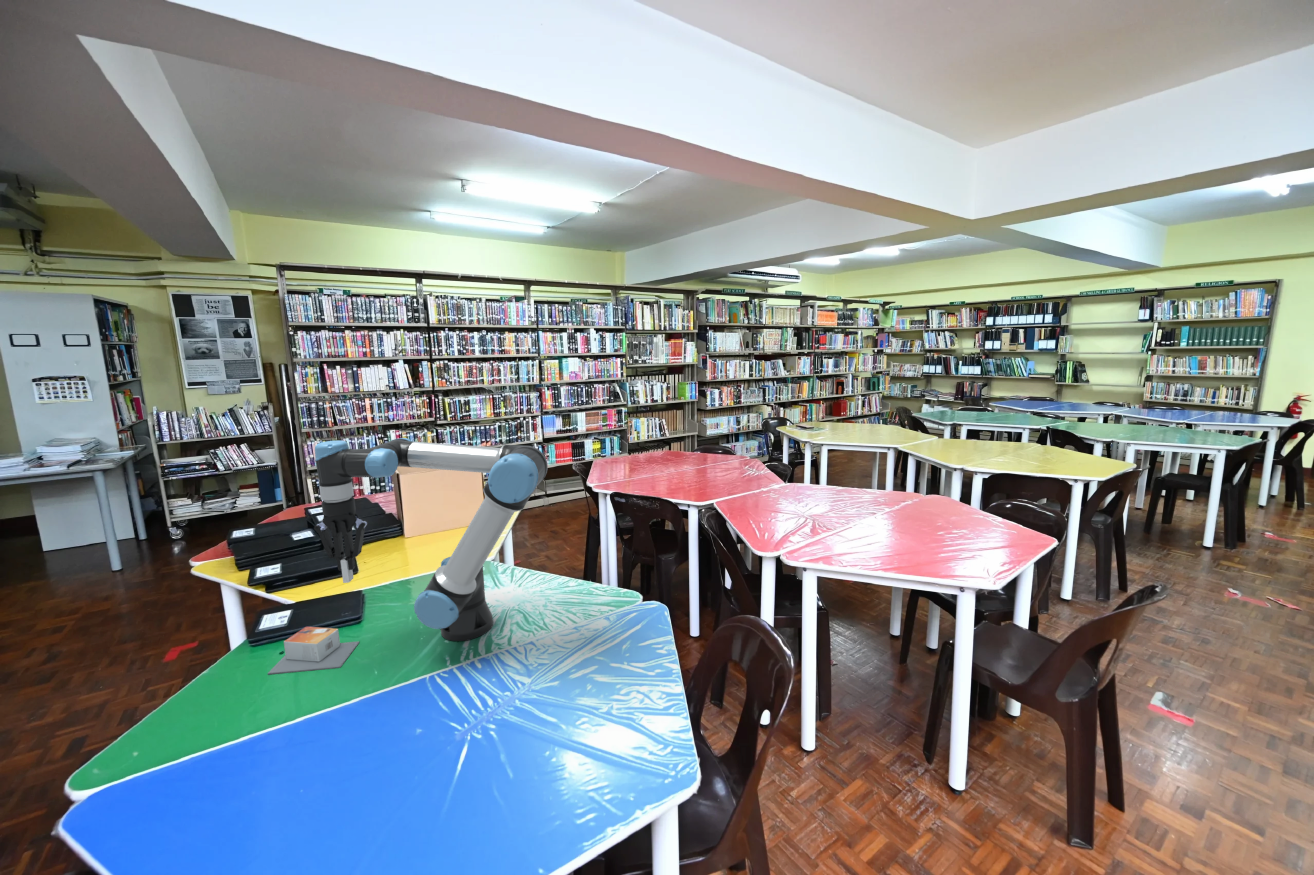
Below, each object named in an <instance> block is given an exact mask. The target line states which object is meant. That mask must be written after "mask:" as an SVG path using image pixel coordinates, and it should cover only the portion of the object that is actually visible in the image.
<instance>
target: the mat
mask: <svg viewBox="0 0 1314 875" xmlns="http://www.w3.org/2000/svg"><path fill="white" fill-rule="evenodd" d="M359 644H360V640H359V641H348V642H340V646H339V647H338V648H336V649H335V650H334V651H333V652H331V653H330V654H329V655H327V656H326V657H325V658H324V659H322V660H321V661H320V662H316V661H302V660H290V659H286V654H284V656H283V657H282V658H281V659H280V660H279V661H278V662H277V663H276V664H275V665H274V666H273V667H272V668H271V669H270V670H269V671H268V672H267V675H268V676H270V675H279V674H290V673H300V672H308V671H309V672H312V671H319V670H321V671H322V670H330V669H341V667H342V666H343V665H344V664H345V663H346V662H347V660H348V658H349V657H350V656H351V654H352V653H353V652H354V651H355V649H356V648H357V647H358V645H359Z"/></svg>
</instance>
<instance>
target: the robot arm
mask: <svg viewBox="0 0 1314 875" xmlns="http://www.w3.org/2000/svg"><path fill="white" fill-rule="evenodd" d="M314 456H315V460H314V462H315V468H316V471H317V477H318V486H319V494H320V496H319V497H320V500H321V508H322V509H321V510H322V515H323V518H322V520H321V522H319V523H317V524H316V525H315V526H313V530H314V531H315V533H317V534H318V536H319V538H320V541H321V543H322V545H323V548H324V550H325V552H326V555H327V557H328V559H334V560H336V563H337V570H338V571H339V572H341V576H342V582H343V583H344V584H346V583H347V584H348V583H351V581H352V580H354V572H353V570H354V569H355V568H356V561H355V558H356V557H358V556H359V555H360V554H361V553H362V550H363V543H364V536H365V531H366V527H367V526H368V524H369V521H368V520H367V519H366V520H363V519H361V518H359V515H358V514H357V512H356V509H357V508H356V500H355V497H354V494H355V493H354V486H353V478H376V479H377V478H378V479H379V478H383V477H385V478H387V477H391V476H393V475H394V474H395V471H397V469H398V468H399V467H400V468H401V467H402V468H417V469H432V470H443V471H444V470H446V471H454V472H455V471H457V472H471V473H481V474H488V476H487V482H486V484H485V486H484V487H483V489H482V490H483V494H484V499H483V500H482V503H481V504H480V505H479V508H478V509H477V511H476V512H475V513H474V516H473V517H472V519H471V521H470V523H469V525H468V527H467V528H466V529H465V532H464V533H463V535H462V537H461V539H460V540H459V542H458V544H457V546H456V547H455V549H454V550H453V552H452V554H451V556H448V557H446V558H443V560H442V561H441V562H440V566H438V568H437V569H436V571H435V573H433V576H432V577H431V579H430V580H429V582H428V584H427V586H426V587H425V588H424V590H423V591H422V592H420V593H419V594H418V596H417V598H416V599H415V601H414V605H413V608H414V609H413V610H414V614H415V615H416V618H417V619H418V621H420V622H421V624H423V625H424V626H426V627H428V628H430V629H434V630H440V635H441V637H443V638H444V639H445V640H448V641H452V642H463V641H469V640H473V639H477V638H478V637H481V636H483V635H484V634H486V633H488V632H489V631H490V630H491V629H492V627H493V625H494V617H493V614H492V612H491V609H490V607H489V606H488V603H487V601H486V592H485V589H486V588H485V580H484V579H485V577H484V576H485V575H484V565H485V562H486V561H487V559H488V557H489V556H490V554H491V552H492V551H493V549H494V547H495V546H496V544H497V542H498V540H499V539H500V537H501V535H502V533H503V532H504V531H505V529H506V527H507V525H508V524H509V522H510V521H511V518H512V517H513V515H514V513H516V512H520V511H523V510H524V508H525V506H526V504H528V501H530V500H529V499H530V498H531V497H532V494H533V493H534V491H535V490H536V488H537V487H538V486H539V484H540V483H541V482H543V481H544V479H545V478H546V475H547V473H548V460H547V458H546V456H545V454H544V453H543V452H542V450H540V449H538V448H536V447H534V446H530V445H515V444H503V445H502V446H501V447H494V446H493V447H491V446H478V445H469V444H468V445H467V444H466V445H465V444H453V443H451V444H450V443H439V442H438V443H437V442H424V441H423V442H422V441H413V440H412V439H409V438H406V437H401V438H394V439H392V440H390V441H387V442H384V443H381V444H378V445H375V446H372V447H368V448H349V444H348V442H347V441H346V440H327V441H322V442H320V443H317V444H316V445H315V446H314ZM355 524H356V525H355ZM355 526H356V531H355V536H354V537H355V538H354V539H353V528H354V527H355ZM329 530H330V532H329ZM330 534H331V535H330Z"/></svg>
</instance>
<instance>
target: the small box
mask: <svg viewBox="0 0 1314 875" xmlns="http://www.w3.org/2000/svg"><path fill="white" fill-rule="evenodd" d="M340 641H341V640H340V632H339V628H332V627H330V628H329V627H318V626H317V627H315V626H305V627H303V628H302V629H301V630H298V631H297V632H296V633H294V634H293V635H291V636H290V637H288V638H287V639H285V640H283V646H284V653H285V654H284V655H286V659H290V660H302V661H316V662H320V661H321V660H322V659H324V658H325V657H326V656H327V655H329V654H330V653H331V652H333V651H334V650H335V649H336V648H338V647H339V646H340V643H341V642H340Z"/></svg>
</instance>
